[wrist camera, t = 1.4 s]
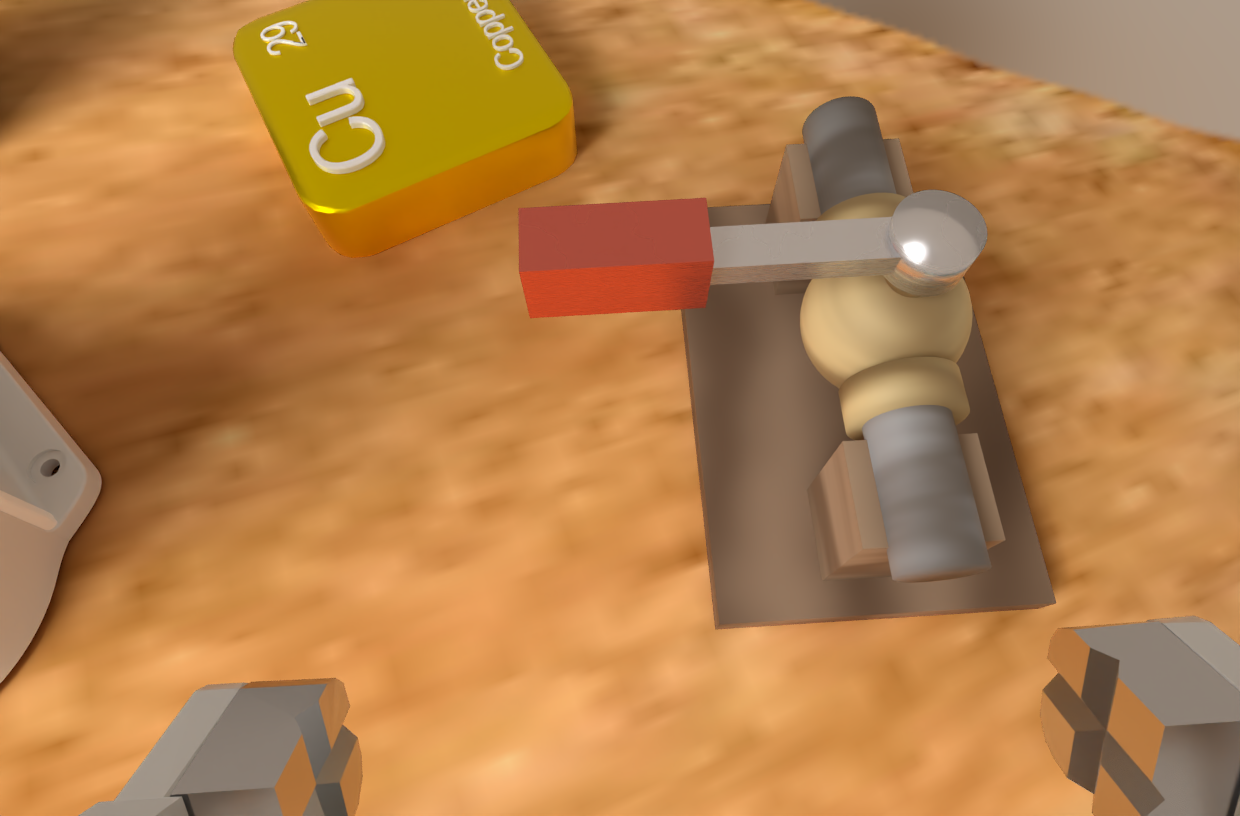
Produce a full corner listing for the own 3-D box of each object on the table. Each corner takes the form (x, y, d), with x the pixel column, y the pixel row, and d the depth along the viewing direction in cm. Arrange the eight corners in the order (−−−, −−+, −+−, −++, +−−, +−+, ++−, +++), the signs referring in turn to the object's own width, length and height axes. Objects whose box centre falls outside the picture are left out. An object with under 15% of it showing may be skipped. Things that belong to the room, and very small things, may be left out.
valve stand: (715, 629, 32) (757, 580, 22) (672, 227, 41) (687, 51, 30) (1038, 608, 33) (1232, 549, 22) (929, 212, 41) (1033, 33, 30)
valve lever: (530, 325, 26) (519, 280, 23) (528, 251, 27) (518, 200, 24) (969, 300, 26) (1006, 252, 23) (948, 228, 27) (982, 175, 24)
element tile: (591, 166, 43) (586, 102, 39) (341, 274, 40) (306, 218, 36) (482, 3, 48) (467, -70, 44) (255, 89, 46) (215, 20, 41)
